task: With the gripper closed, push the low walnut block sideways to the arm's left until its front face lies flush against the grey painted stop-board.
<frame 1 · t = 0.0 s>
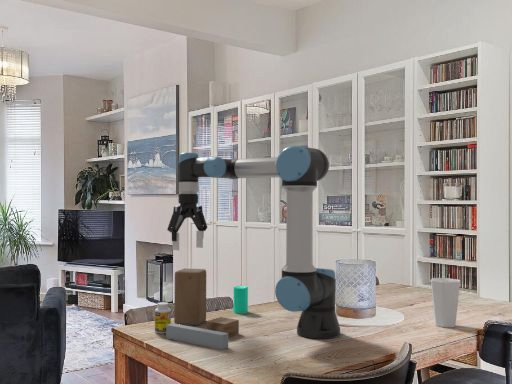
hand: (188, 248, 208), 28 cm above the table, fingers open, 13 cm apart
walnut block: (222, 334, 190), on the table
candle: (240, 312, 228), on the table
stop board: (196, 342, 178), on the table
wooden block: (190, 323, 208), on the table
cup: (445, 326, 205), on the table
supplement bottle: (162, 332, 192), on the table
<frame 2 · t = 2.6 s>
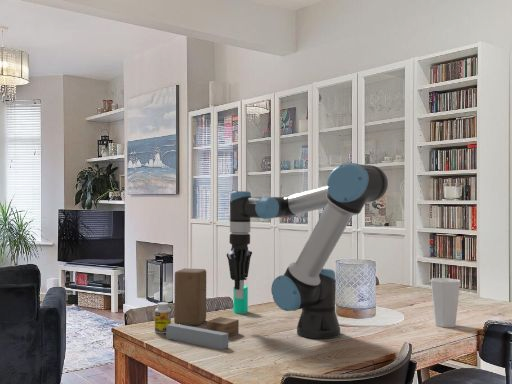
hand: (238, 298, 199), 11 cm above the table, fingers closed
nothing on the table moved.
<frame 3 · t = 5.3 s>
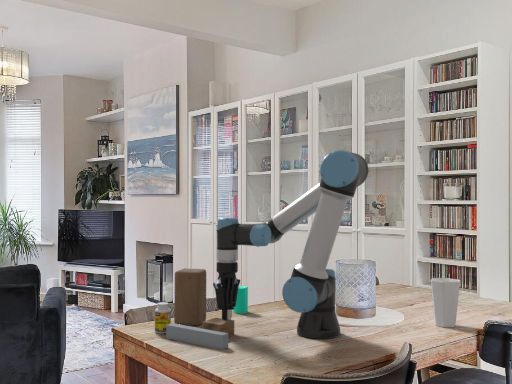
hand: (226, 328, 192), 2 cm above the table, fingers closed
walnut block: (218, 335, 188), on the table, touching gripper
everything else where it was.
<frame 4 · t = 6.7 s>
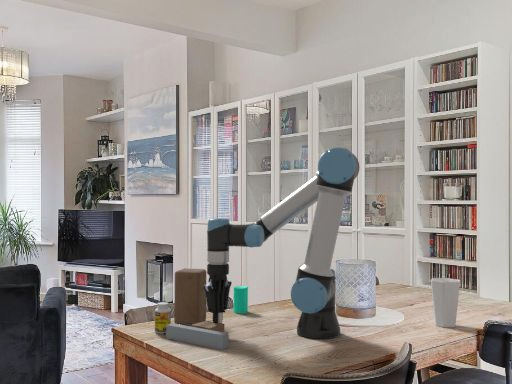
hand: (217, 331, 188), 1 cm above the table, fingers closed
walnut block: (207, 339, 184), on the table
everything else where it was.
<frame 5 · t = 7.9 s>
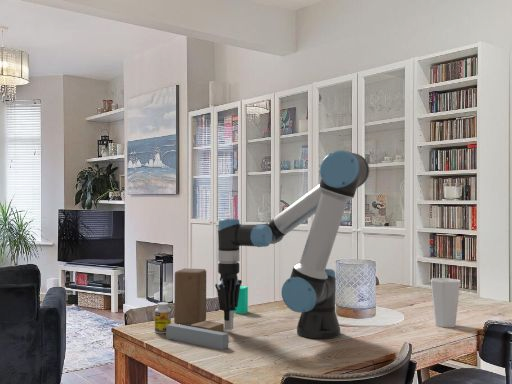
hand: (228, 329, 192), 1 cm above the table, fingers closed
nothing on the table moved.
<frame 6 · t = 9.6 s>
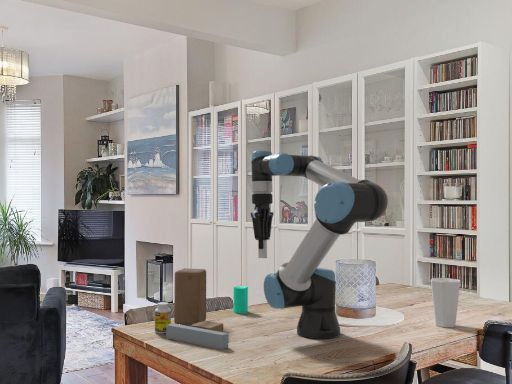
hand: (262, 257, 198), 26 cm above the table, fingers closed
nothing on the table moved.
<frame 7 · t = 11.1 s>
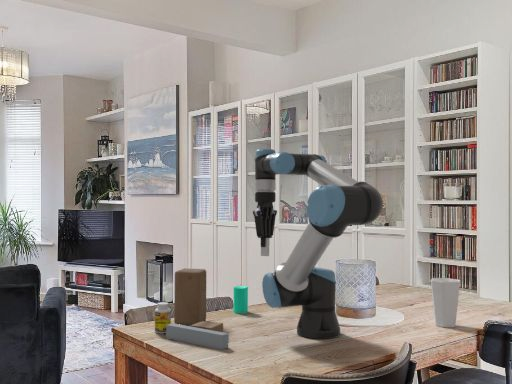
hand: (265, 255, 199), 26 cm above the table, fingers closed
nothing on the table moved.
at the end: walnut block inside the target area on the table beside the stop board (0.7 cm from its centre), on the table; walnut block tilted 0° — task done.
